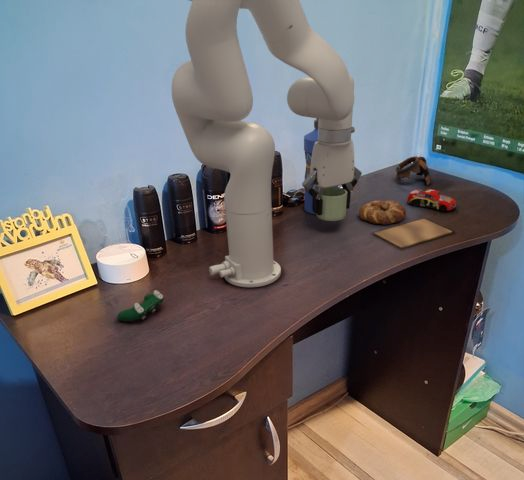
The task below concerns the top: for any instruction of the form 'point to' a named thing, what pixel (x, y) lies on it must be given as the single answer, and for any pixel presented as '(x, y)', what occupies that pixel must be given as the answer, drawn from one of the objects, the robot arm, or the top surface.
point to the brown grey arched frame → (413, 168)
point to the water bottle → (308, 148)
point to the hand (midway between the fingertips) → (331, 209)
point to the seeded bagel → (382, 212)
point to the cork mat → (412, 233)
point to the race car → (431, 199)
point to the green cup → (333, 204)
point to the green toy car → (142, 307)
